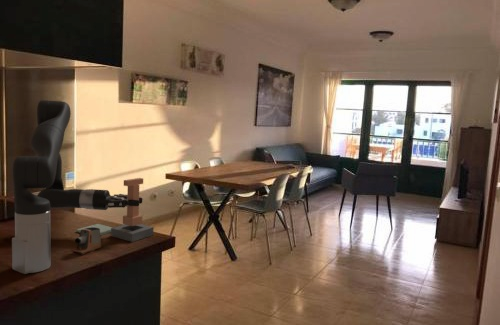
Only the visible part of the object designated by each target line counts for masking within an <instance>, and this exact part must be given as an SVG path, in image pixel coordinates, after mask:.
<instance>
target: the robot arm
mask: <svg viewBox="0 0 500 325" xmlns="http://www.w3.org/2000/svg"><path fill="white" fill-rule="evenodd" d="M71 112H72V111H71V108H70V105H69V104H68V103H67V102H65V101H62V100H45V99H44V100H40V101H39V102H38V103H37V108H36V122H37V126H36V127H35V128H34V131H33V133H32V136H31V138H30V145H31V148H32V150H33V151H34V153H36V155H35V156H32V155H28V156H27V155H23V156H16V157H15V159H14V160H13V161H12V162H13V163H12V169H11V171H12V183H13V185H12V186H13V196H14V197H13V199H14V200H13V201H14V237H12V238H11V257H12V259H11V260H12V262H11V264H12V265H11V266H12V270H14V271H15V272H18V273H20V274H23V275H27V274H29V273H30V274H34V273H39V272H43V271H45V270H48V269H49V268H51V265H52V264H51V263H52V260H51V259H52V258H51V255H52V254H51V253H52V252H51V251H52V250H51V249H52V248H51V246H52V245H51V209H56V208H59V209H60V208H71V209H72V208H74V209H85V210H95V211H96V210H98V211H99V210H100V211H107V210H108V209H110V208H112V209H113V208H114V209H115V208H116V209H117V208H127V206H128V205H129V206H140V204H143V197H140V196H139V200H128V199H127V194H123V193H118V194H117V193H116V194H113V195H111V193H110V191H109V190H108V189H93V188H91V189H90V188H89V189H88V188H87V189H80V188H79V189H77V188H72V189H71V188H70V189H65V187H64V183H63V178H62V173H63V172H62V170H63V169H62V168H63V167H62V166H63V163H62V162H63V161H62V156H61V149H62V147H63V142H64V138H65V137H64V136H65V132H66V129H67V127H68V124H69V123H70V119H71V114H72V113H71ZM29 189H42V190H40V191H39V192H38V194H37V195H36V194H34V193H32V192H31V191H30V190H29Z"/></svg>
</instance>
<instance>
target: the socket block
mask: <svg viewBox="0 0 500 325" xmlns="http://www.w3.org/2000/svg"><path fill="white" fill-rule="evenodd" d="M151 236H154V227H153V226H150V225H146V224H143V223H142V224H138V225H135V226H130V225H126V224H121V225H117V226H115V227H112V228H111V232H110V237H113V238H117V239H120V240H124V241H128V242H131V243H133V242H134V243H135V242H136V241H139V240H143V239H145V238H148V237H151Z"/></svg>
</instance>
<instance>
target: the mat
mask: <svg viewBox="0 0 500 325" xmlns="http://www.w3.org/2000/svg"><path fill="white" fill-rule="evenodd" d="M92 227H95V228H99V229H100V236H103V235H107V234H111V228H113V227H112V226H107V225H104V224H100V223H96V224H92V225H89V226H84V227H80V228H77V229H76V232H77V233H79V234H80V232H81V229H86V228H92Z"/></svg>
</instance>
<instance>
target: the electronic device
mask: <svg viewBox="0 0 500 325" xmlns="http://www.w3.org/2000/svg"><path fill="white" fill-rule="evenodd" d="M101 241H102V240H101V235H100V229H99V228H95V227H92V228H86V229H81V232H80V233H79V236H78V237H76V238H75V239H74V242H75V244H76V245H77V246H76V247H74V248H72V249H71V252H72V253H73V254H75V255H80V256H84V255H85V254H86V253H92V252H94V251H96V250H97V249H101V248H102V242H101Z"/></svg>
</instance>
